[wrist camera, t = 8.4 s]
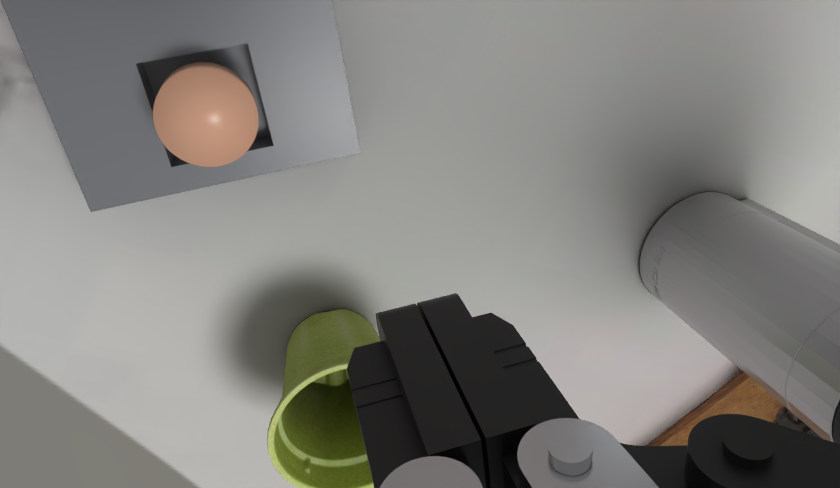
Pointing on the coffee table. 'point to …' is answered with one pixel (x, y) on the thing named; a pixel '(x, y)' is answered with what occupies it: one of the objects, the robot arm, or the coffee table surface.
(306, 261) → the coffee table surface
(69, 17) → the console
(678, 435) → the wooden box
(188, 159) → the terracotta button
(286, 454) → the plant pot
